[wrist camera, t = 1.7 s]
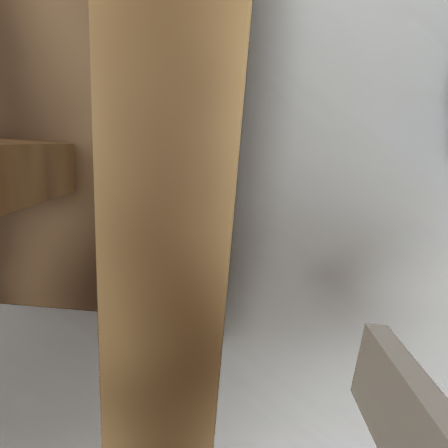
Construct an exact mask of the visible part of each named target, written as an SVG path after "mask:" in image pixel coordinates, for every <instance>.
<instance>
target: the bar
mask: <svg viewBox="0 0 448 448" xmlns="http://www.w3.org/2000/svg"><path fill="white" fill-rule="evenodd" d="M88 5H89V38H90V71H91V104H92V137H93V170H94V203H95V236H96V269H97V302H98V335H99V368H100V401H101V434H102V448H213V446H214V434H215V423H216V412H217V400H218V389H219V377H220V366H221V354H222V343H223V332H224V320H225V309H226V297H227V286H228V274H229V263H230V252H231V240H232V229H233V217H234V206H235V195H236V183H237V172H238V160H239V149H240V137H241V126H242V115H243V103H244V92H245V80H246V69H247V57H248V46H249V35H250V23H251V12H252V0H88Z"/></svg>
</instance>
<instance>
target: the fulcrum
mask: <svg viewBox="0 0 448 448" xmlns="http://www.w3.org/2000/svg"><path fill="white" fill-rule="evenodd" d="M0 304H12V305H25V306H37V307H49V308H61V309H73V310H86V311H98V302H97V269H96V236H95V203H94V170H93V137H92V104H91V71H90V38H89V5H88V0H0Z"/></svg>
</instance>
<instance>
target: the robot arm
mask: <svg viewBox="0 0 448 448" xmlns="http://www.w3.org/2000/svg"><path fill="white" fill-rule="evenodd" d="M351 392H352V394H353V396H354V398H355V401H356V403H357V405H358V407H359V409H360V411H361V414H362V416H363V418H364V420H365V422H366V424H367V427H368V429H369V431H370V433H371V435H372V437H373V440H374V442H375V444H376V446H377V448H448V398H447V397H446V396H445V395H444V393H443V392H442V391H441V390H440V389H439V387H438V386H437V385H436V384H435V383H434V381H433V380H432V379H431V378H430V376H429V375H428V374H427V373H426V372H425V370H424V369H423V368H422V367H421V366H420V364H419V363H418V362H417V361H416V359H415V358H414V357H413V356H412V355H411V353H410V352H409V351H408V350H407V349H406V347H405V346H404V345H403V344H402V343H401V341H400V340H399V339H398V338H397V336H396V335H395V334H394V333H393V332H392V330H391V329H390V328H389V327H388V326H386V325H375V324H365V327H364V331H363V336H362V340H361V345H360V350H359V354H358V359H357V363H356V368H355V372H354V377H353V381H352V386H351Z"/></svg>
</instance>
